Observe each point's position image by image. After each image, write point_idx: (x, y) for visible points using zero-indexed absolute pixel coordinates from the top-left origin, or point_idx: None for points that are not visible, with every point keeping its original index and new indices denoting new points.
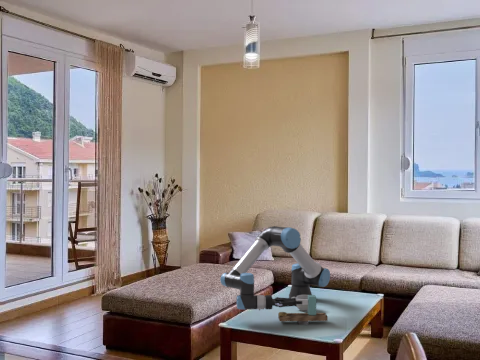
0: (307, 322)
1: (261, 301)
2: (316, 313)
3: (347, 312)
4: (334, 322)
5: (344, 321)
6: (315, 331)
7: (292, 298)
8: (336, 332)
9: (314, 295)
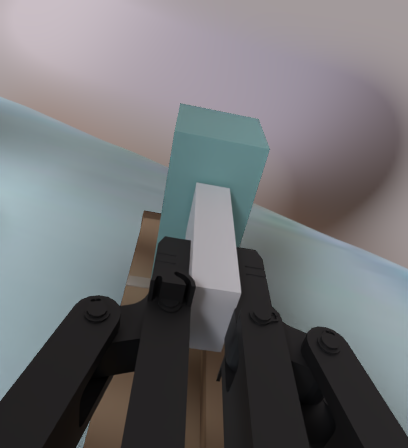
0: None
1: None
2: (152, 252)
3: (15, 144)
4: None
5: None
6: (389, 376)
7: (98, 317)
8: (362, 278)
9: (202, 110)
